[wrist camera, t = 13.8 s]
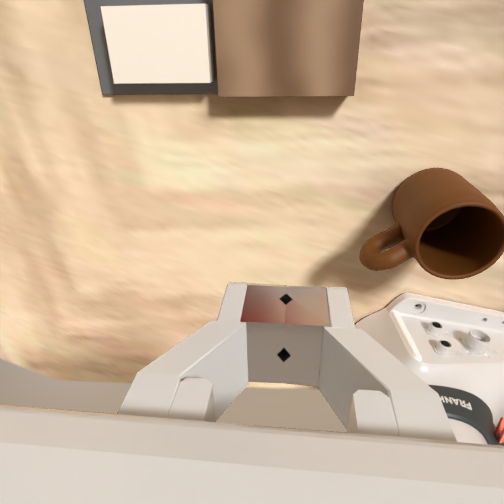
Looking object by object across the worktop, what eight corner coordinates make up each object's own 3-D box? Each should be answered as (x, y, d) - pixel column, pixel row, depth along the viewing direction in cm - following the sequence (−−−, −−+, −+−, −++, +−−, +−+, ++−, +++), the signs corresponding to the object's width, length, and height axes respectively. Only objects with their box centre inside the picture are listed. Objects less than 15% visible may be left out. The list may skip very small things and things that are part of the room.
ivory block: (210, 5, 33) (205, 3, 32) (214, 80, 36) (210, 82, 34) (110, 7, 34) (100, 6, 32) (122, 81, 37) (113, 83, 35)
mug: (362, 256, 44) (376, 306, 36) (339, 198, 41) (350, 238, 33) (474, 219, 40) (518, 265, 32) (459, 152, 37) (504, 185, 29)
